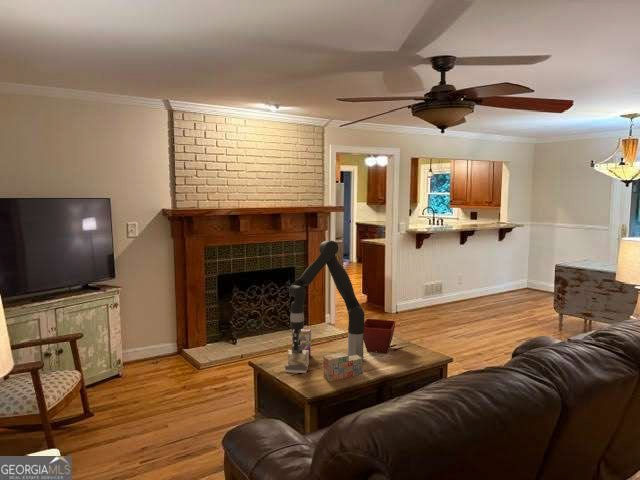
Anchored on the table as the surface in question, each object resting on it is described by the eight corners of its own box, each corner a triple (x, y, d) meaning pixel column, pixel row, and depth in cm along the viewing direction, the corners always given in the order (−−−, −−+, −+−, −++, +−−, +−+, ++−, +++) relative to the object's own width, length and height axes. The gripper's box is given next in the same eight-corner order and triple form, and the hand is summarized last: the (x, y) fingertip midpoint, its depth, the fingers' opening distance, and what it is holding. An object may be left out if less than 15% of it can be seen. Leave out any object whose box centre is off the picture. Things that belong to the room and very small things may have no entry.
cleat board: (308, 364, 270) (308, 349, 269) (306, 372, 259) (306, 357, 258) (288, 363, 272) (288, 349, 271) (284, 372, 260) (284, 356, 259)
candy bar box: (292, 357, 282) (291, 331, 280) (293, 354, 287) (293, 328, 285) (310, 358, 281) (310, 331, 279) (311, 355, 286) (311, 329, 284)
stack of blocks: (356, 370, 263) (356, 349, 261) (362, 374, 257) (362, 353, 256) (323, 377, 253) (323, 355, 252) (328, 381, 248) (328, 359, 246)
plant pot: (360, 352, 290) (360, 326, 288) (366, 342, 308) (366, 318, 306) (390, 356, 284) (391, 329, 282) (395, 345, 302) (395, 320, 300)
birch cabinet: (306, 364, 268) (306, 344, 266) (305, 368, 263) (305, 347, 261) (289, 364, 268) (289, 344, 267) (287, 367, 264) (287, 347, 262)
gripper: (301, 323, 255) (302, 352, 257) (305, 316, 269) (305, 343, 271) (288, 323, 256) (288, 351, 257) (292, 316, 270) (292, 343, 272)
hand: (297, 347), depth 264 cm, fingers open, 8 cm apart
